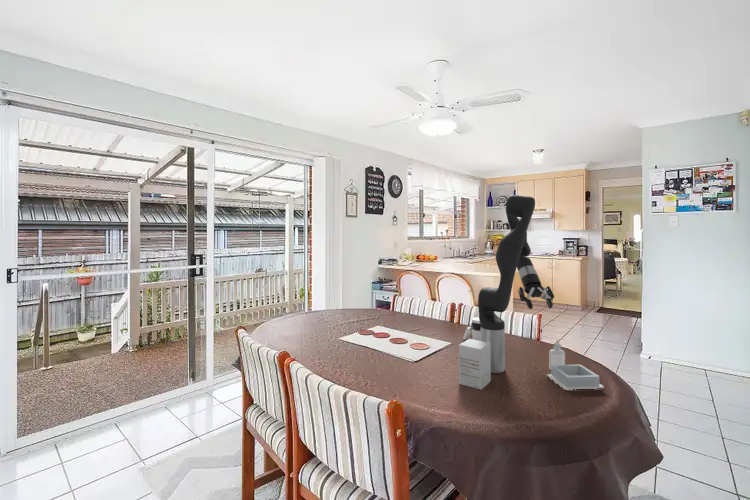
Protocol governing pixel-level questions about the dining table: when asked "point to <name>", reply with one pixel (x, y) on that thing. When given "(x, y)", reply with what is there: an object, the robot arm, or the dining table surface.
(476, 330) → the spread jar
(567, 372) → the bottle stand
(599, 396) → the dining table surface
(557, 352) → the eye dropper bottle
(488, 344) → the supplement box
